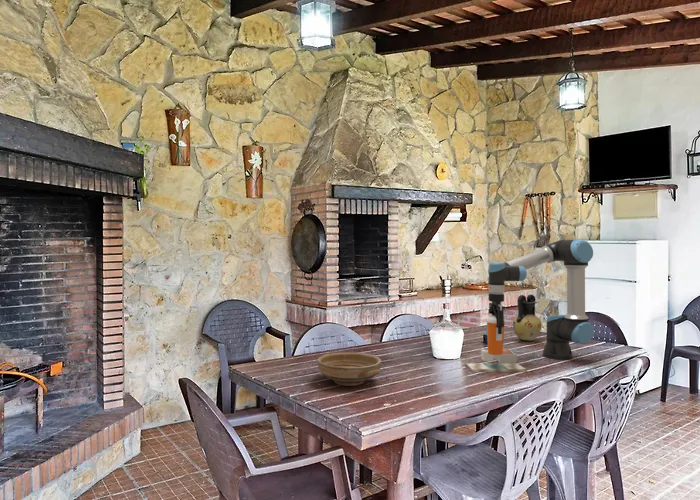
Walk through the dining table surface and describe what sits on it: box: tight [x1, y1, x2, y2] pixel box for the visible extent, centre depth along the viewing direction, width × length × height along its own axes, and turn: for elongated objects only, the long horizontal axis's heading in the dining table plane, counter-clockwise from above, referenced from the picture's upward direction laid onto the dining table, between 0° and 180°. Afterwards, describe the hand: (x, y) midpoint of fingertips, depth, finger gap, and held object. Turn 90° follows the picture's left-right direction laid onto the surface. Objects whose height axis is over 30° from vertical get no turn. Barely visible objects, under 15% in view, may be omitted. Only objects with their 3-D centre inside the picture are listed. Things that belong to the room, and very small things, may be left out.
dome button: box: [503, 347, 512, 354], centre depth 265 cm, size 6×6×6 cm
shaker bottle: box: [486, 312, 506, 356], centre depth 248 cm, size 9×9×20 cm
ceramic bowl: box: [316, 352, 382, 387], centre depth 223 cm, size 37×29×10 cm
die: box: [480, 349, 494, 362], centre depth 267 cm, size 5×5×5 cm
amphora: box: [512, 294, 542, 344], centre depth 315 cm, size 18×17×30 cm
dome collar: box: [493, 350, 518, 364], centre depth 265 cm, size 9×9×4 cm
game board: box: [464, 362, 528, 373], centre depth 249 cm, size 27×12×1 cm, turn 93°
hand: (495, 338), depth 248 cm, fingers closed on shaker bottle, 9 cm apart
